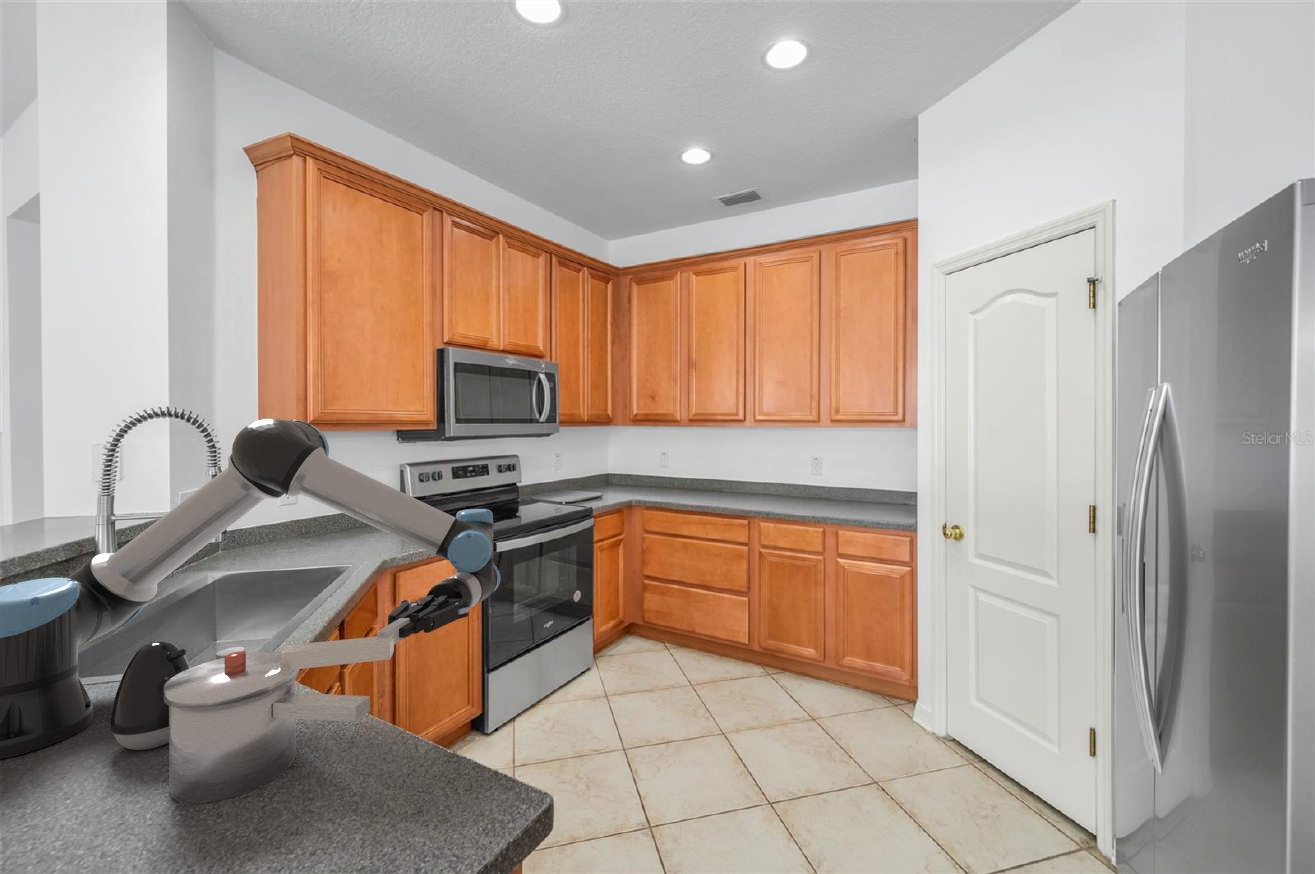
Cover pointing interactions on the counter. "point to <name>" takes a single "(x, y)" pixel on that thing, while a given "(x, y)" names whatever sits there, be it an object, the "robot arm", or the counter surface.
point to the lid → (266, 670)
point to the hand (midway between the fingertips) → (381, 640)
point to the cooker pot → (244, 741)
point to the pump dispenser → (146, 696)
